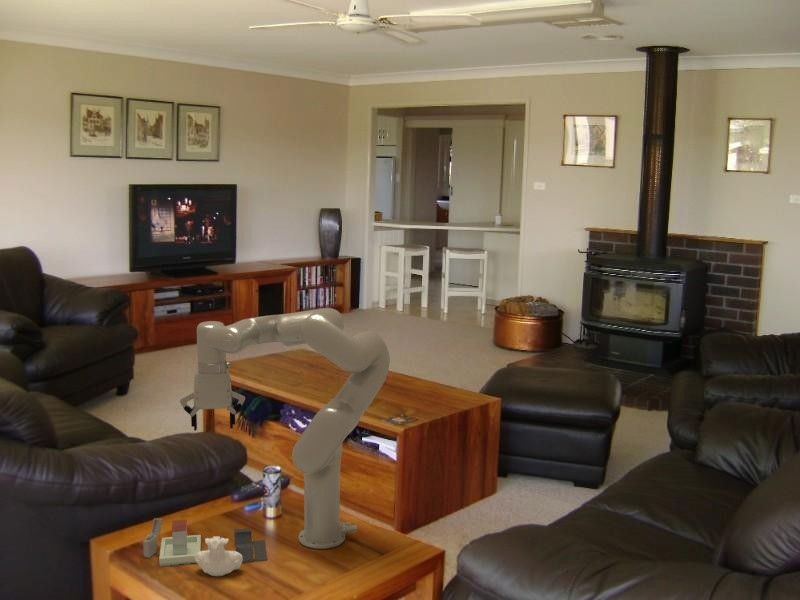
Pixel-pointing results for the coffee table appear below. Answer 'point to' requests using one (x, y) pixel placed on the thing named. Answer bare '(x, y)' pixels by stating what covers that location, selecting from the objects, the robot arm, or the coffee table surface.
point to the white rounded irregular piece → (218, 558)
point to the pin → (179, 537)
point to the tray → (170, 559)
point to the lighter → (152, 539)
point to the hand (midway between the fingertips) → (213, 427)
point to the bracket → (249, 546)
